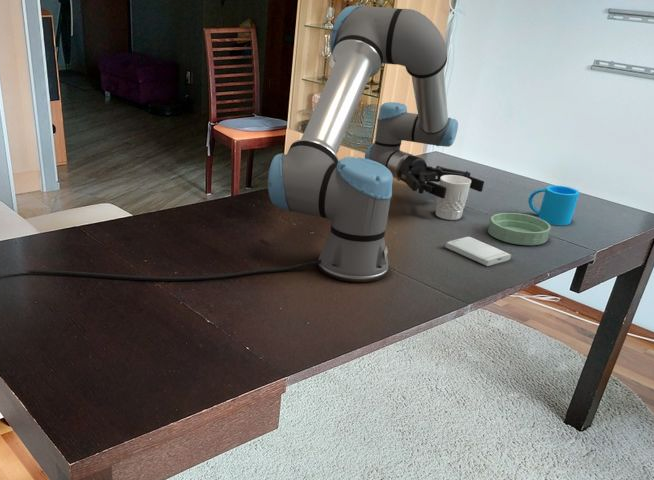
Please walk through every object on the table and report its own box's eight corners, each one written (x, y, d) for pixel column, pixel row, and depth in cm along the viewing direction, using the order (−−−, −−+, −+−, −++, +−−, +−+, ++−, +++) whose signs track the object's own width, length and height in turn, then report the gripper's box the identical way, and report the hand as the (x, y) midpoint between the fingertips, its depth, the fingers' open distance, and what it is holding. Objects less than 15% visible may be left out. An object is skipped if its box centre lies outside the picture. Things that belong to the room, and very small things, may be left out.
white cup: (427, 215, 182) (434, 178, 177) (441, 208, 187) (449, 173, 182) (455, 223, 177) (463, 185, 172) (468, 216, 182) (476, 179, 177)
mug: (575, 220, 182) (584, 190, 178) (563, 227, 177) (572, 197, 173) (531, 209, 189) (538, 180, 185) (519, 215, 184) (526, 186, 179)
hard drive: (446, 241, 161) (488, 260, 152) (469, 235, 165) (511, 253, 156) (444, 248, 162) (486, 266, 153) (468, 242, 166) (510, 260, 157)
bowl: (498, 245, 165) (501, 231, 163) (480, 224, 177) (483, 211, 175) (556, 247, 165) (560, 233, 163) (534, 226, 177) (538, 213, 175)
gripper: (437, 176, 198) (494, 197, 183) (371, 186, 188) (425, 210, 172) (442, 150, 194) (500, 170, 179) (375, 159, 184) (430, 181, 168)
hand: (463, 189), depth 175 cm, fingers open, 13 cm apart
